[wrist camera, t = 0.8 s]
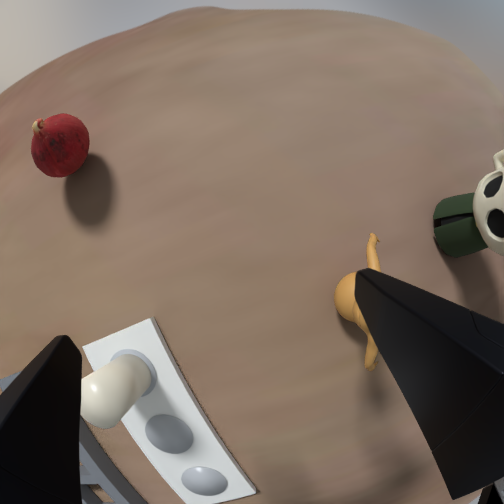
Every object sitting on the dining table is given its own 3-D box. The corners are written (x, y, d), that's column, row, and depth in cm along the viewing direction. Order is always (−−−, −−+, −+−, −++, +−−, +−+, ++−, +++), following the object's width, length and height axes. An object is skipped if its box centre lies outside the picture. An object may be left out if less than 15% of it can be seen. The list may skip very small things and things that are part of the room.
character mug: (422, 173, 24) (507, 120, 11) (465, 186, 24) (544, 149, 11) (426, 279, 23) (532, 274, 10) (470, 281, 23) (562, 277, 10)
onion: (112, 158, 23) (71, 117, 15) (70, 199, 22) (20, 172, 14) (89, 125, 23) (52, 85, 15) (51, 163, 23) (7, 133, 15)
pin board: (150, 506, 19) (145, 519, 17) (97, 507, 18) (91, 517, 16) (51, 359, 21) (37, 364, 18) (10, 375, 20) (-3, 380, 17)
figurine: (368, 340, 22) (457, 380, 10) (303, 346, 22) (360, 407, 10) (368, 247, 23) (462, 221, 11) (303, 247, 23) (365, 214, 11)
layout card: (255, 487, 20) (260, 540, 12) (191, 502, 20) (180, 551, 12) (153, 316, 22) (112, 333, 14) (87, 344, 21) (35, 365, 13)
